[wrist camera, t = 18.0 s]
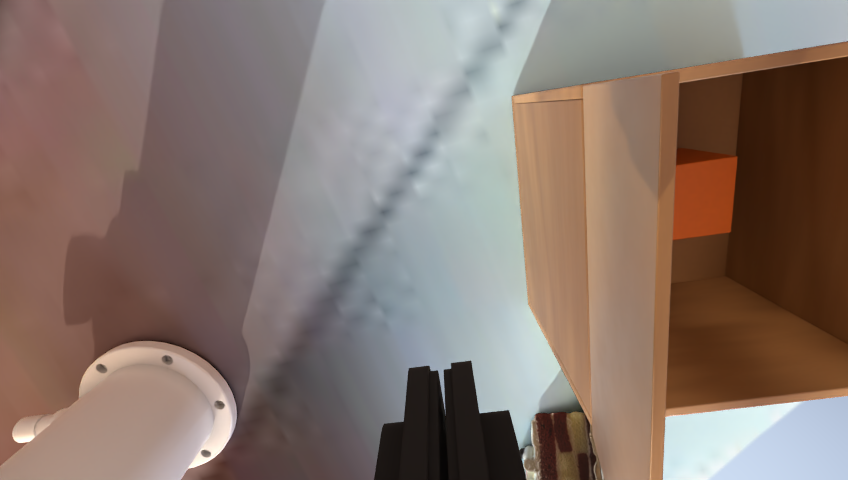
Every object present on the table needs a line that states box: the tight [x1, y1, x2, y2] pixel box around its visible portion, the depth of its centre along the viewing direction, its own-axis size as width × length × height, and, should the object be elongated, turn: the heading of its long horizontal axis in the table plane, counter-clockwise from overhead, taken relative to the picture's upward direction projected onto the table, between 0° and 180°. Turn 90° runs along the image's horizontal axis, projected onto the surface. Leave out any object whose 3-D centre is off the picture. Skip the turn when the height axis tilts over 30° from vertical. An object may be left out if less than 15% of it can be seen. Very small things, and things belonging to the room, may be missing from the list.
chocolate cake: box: [520, 411, 605, 480], centre depth 34 cm, size 10×7×12 cm
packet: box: [673, 148, 738, 240], centre depth 25 cm, size 7×4×5 cm, turn 99°
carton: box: [512, 41, 848, 425], centre depth 22 cm, size 15×16×12 cm
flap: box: [583, 71, 680, 480], centre depth 13 cm, size 7×15×1 cm
